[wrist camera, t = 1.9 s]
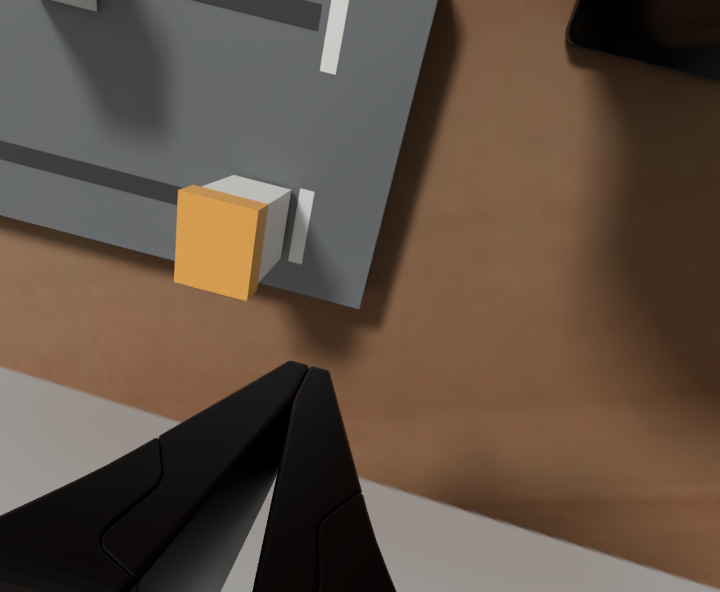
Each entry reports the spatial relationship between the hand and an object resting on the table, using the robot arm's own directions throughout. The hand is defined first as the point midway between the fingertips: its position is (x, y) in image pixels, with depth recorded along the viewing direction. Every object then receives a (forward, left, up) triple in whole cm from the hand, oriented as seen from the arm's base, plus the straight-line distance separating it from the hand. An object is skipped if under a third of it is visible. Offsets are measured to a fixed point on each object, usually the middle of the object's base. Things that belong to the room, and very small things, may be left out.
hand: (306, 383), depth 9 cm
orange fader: (+5, 0, -10) cm, 11 cm away
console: (+11, -3, -12) cm, 16 cm away
